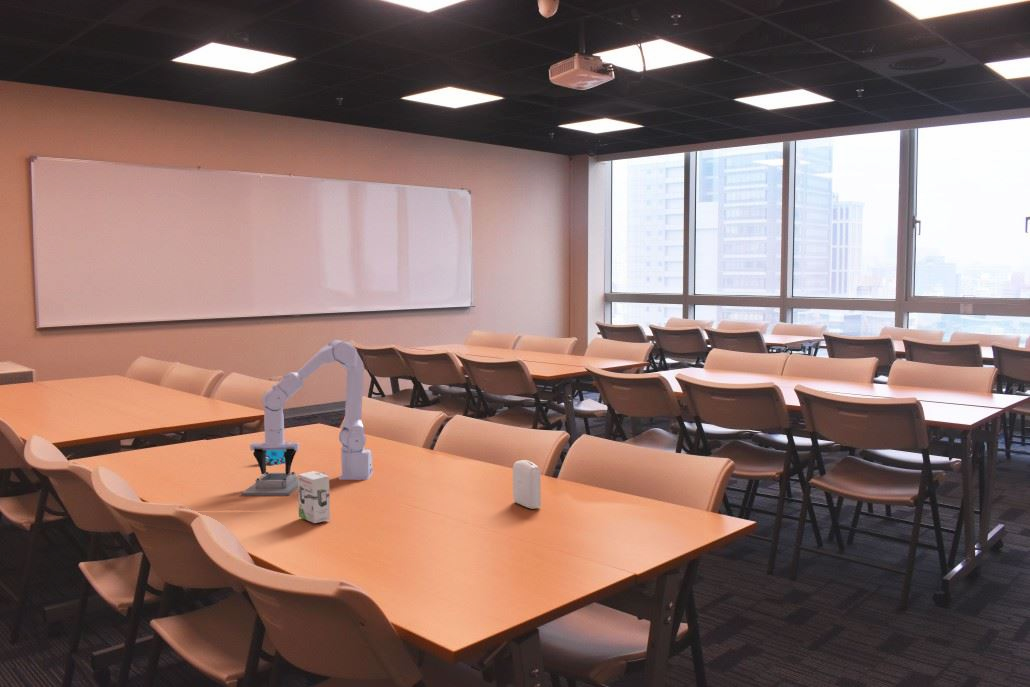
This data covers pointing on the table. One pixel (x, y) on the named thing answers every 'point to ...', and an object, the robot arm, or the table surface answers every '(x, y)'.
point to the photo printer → (526, 484)
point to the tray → (273, 485)
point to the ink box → (314, 496)
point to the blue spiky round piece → (275, 456)
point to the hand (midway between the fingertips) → (275, 473)
